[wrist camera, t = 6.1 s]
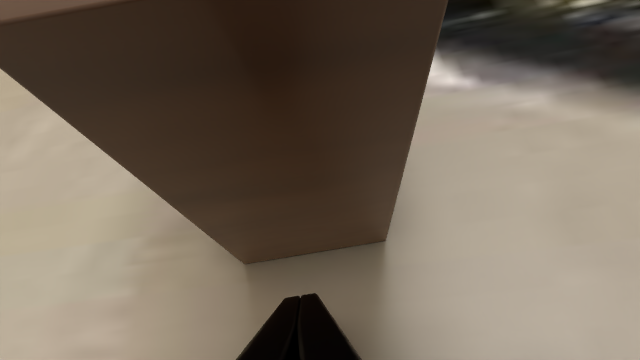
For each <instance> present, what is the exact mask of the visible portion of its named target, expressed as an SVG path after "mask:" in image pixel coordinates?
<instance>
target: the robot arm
mask: <svg viewBox="0 0 640 360" xmlns="http://www.w3.org/2000/svg"><path fill="white" fill-rule="evenodd" d="M236 360H362V359H361V358H360V356H359V355H358V354H357V352H356V351H355V349H354V348H353V346H352V345H351V343H350V342H349V340H348V339H347V337H346V336H345V335H344V333H343V332H342V330H341V329H340V327H339V326H338V324H337V323H336V321H335V320H334V318H333V317H332V315H331V314H330V313H329V311H328V310H327V308H326V307H325V305H324V304H323V302H322V301H321V299H320V298H319V296H318V295H317V294H316V293H313V294H307V295H302V296H301V298H300V296H295V297H288V298H285V299H284V300H283V301H282V302H281V303H280V305H279V306H278V307H277V308H276V310H275V311H274V312H273V314H272V315H271V316H270V317H269V319H268V320H267V321H266V322H265V324H264V325H263V326H262V327H261V329H260V330H259V331H258V332H257V334H256V335H255V336H254V337H253V339H252V340H251V341H250V342H249V344H248V345H247V346H246V347H245V349H244V350H243V351H242V353H241V354H240V355H239V356H238V358H237V359H236Z"/></svg>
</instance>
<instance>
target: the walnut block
mask: <svg viewBox="0 0 640 360" xmlns="http://www.w3.org/2000/svg"><path fill="white" fill-rule="evenodd" d="M447 2H448V0H0V69H2V70H3V71H4V72H5V73H7V74H8V75H9V76H10V77H12V78H13V79H14V80H15V81H17V82H18V83H19V84H20V85H22V86H23V87H24V88H25V89H27V90H28V91H29V92H30V93H32V94H33V95H34V96H35V97H37V98H38V99H39V100H40V101H42V102H43V103H44V104H45V105H47V106H48V107H49V108H50V109H52V110H53V111H54V112H55V113H57V114H58V115H59V116H60V117H62V118H63V119H64V120H65V121H67V122H68V123H69V124H70V125H72V126H73V127H74V128H75V129H76V130H78V131H79V132H80V133H81V134H83V135H84V136H85V137H86V138H88V139H89V140H90V141H91V142H93V143H94V144H95V145H96V146H98V147H99V148H100V149H101V150H103V151H104V152H105V153H106V154H108V155H109V156H110V157H111V158H113V159H114V160H115V161H116V162H118V163H119V164H120V165H121V166H123V167H124V168H125V169H126V170H128V171H129V172H130V173H131V174H133V175H134V176H135V177H136V178H138V179H139V180H140V181H141V182H143V183H144V184H145V185H146V186H148V187H149V188H150V189H151V190H153V191H154V192H155V193H156V194H158V195H159V196H160V197H161V198H163V199H164V200H165V201H166V202H168V203H169V204H170V205H171V206H172V207H174V208H175V209H176V210H177V211H179V212H180V213H181V214H182V215H184V216H185V217H186V218H187V219H189V220H190V221H191V222H192V223H194V224H195V225H196V226H197V227H199V228H200V229H201V230H202V231H204V232H205V233H206V234H207V235H209V236H210V237H211V238H212V239H214V240H215V241H216V242H217V243H219V244H220V245H221V246H222V247H224V248H225V249H226V250H227V251H229V252H230V253H231V254H232V255H234V256H235V257H236V258H237V259H239V260H240V261H241V262H242V263H244V264H248V263H254V262H260V261H266V260H272V259H278V258H284V257H290V256H296V255H302V254H308V253H314V252H320V251H326V250H332V249H338V248H344V247H350V246H356V245H362V244H368V243H375V242H381V241H385V240H386V238H387V234H388V230H389V226H390V222H391V218H392V214H393V211H394V207H395V203H396V199H397V195H398V191H399V187H400V184H401V180H402V176H403V172H404V168H405V164H406V160H407V157H408V153H409V149H410V145H411V141H412V137H413V133H414V130H415V126H416V122H417V118H418V114H419V110H420V106H421V103H422V99H423V95H424V91H425V87H426V83H427V79H428V76H429V72H430V68H431V64H432V60H433V56H434V52H435V49H436V45H437V41H438V37H439V33H440V29H441V25H442V22H443V18H444V14H445V10H446V6H447Z"/></svg>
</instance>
